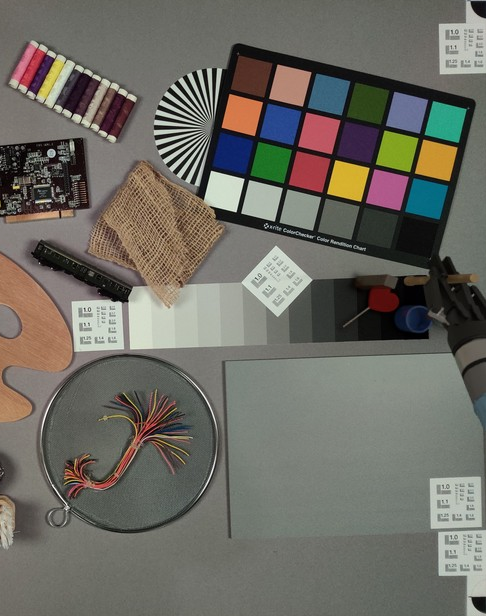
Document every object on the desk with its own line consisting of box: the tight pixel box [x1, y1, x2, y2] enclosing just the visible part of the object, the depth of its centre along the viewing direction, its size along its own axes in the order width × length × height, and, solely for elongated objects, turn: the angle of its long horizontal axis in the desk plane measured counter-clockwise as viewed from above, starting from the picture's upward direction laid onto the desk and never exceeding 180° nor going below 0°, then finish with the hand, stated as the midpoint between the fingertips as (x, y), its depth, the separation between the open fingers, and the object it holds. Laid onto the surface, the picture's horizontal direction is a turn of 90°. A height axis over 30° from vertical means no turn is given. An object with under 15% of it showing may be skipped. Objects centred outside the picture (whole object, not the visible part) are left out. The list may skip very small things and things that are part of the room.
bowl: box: [393, 304, 434, 334], centre depth 141 cm, size 6×6×5 cm
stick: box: [403, 273, 480, 287], centre depth 113 cm, size 2×2×20 cm
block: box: [352, 273, 399, 291], centre depth 137 cm, size 3×3×14 cm
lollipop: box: [342, 289, 400, 328], centre depth 143 cm, size 8×1×15 cm
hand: (438, 260), depth 115 cm, fingers closed on stick, 2 cm apart
